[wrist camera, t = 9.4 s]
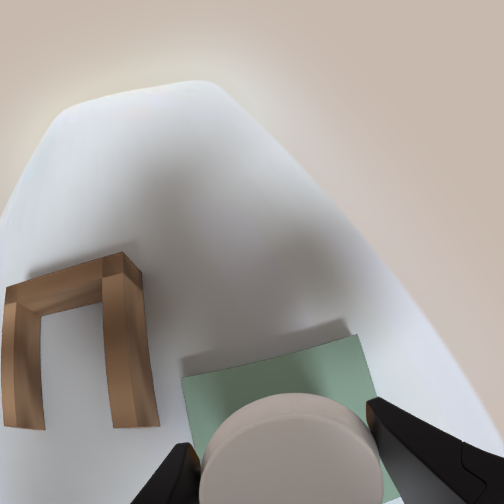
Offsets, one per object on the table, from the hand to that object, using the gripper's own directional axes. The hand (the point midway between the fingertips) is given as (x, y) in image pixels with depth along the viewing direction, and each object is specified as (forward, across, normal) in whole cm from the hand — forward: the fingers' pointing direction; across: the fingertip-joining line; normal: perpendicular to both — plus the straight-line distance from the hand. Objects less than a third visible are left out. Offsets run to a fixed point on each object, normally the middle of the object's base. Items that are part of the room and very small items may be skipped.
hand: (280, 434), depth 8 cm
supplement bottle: (+4, 0, +6) cm, 7 cm away
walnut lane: (+11, +13, +1) cm, 17 cm away
